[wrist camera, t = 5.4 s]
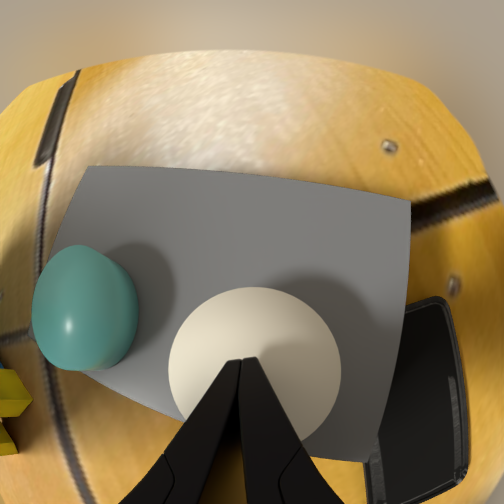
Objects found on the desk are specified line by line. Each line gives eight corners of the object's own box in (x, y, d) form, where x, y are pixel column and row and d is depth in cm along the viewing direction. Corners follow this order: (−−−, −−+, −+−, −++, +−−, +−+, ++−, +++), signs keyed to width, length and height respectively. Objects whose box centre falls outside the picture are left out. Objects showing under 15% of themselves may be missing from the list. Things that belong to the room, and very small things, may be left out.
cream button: (310, 430, 11) (314, 468, 7) (200, 402, 12) (153, 421, 8) (337, 321, 13) (357, 305, 8) (227, 298, 14) (192, 271, 9)
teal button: (154, 385, 13) (96, 392, 8) (82, 350, 14) (22, 341, 10) (180, 287, 15) (132, 257, 10) (105, 266, 16) (52, 236, 11)
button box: (341, 420, 15) (367, 462, 8) (100, 346, 19) (27, 335, 12) (374, 256, 18) (410, 201, 11) (141, 216, 22) (88, 166, 15)
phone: (370, 521, 11) (339, 324, 16) (367, 514, 12) (337, 326, 17) (468, 479, 10) (447, 291, 16) (462, 474, 11) (439, 294, 17)
